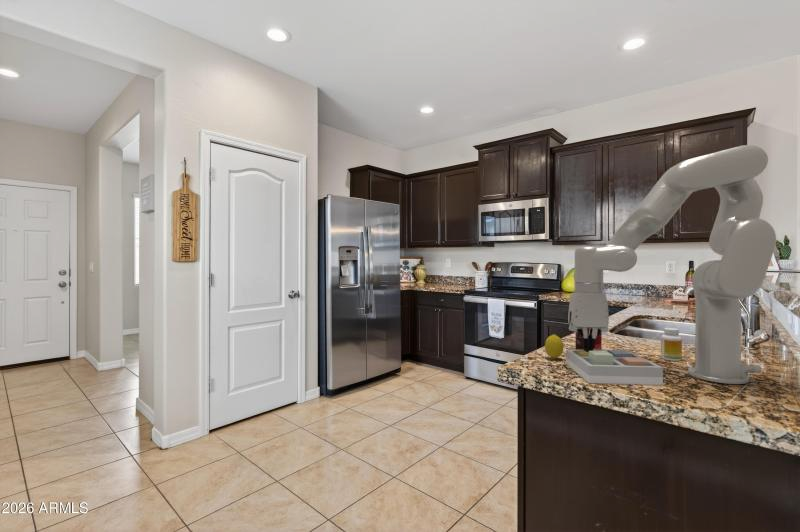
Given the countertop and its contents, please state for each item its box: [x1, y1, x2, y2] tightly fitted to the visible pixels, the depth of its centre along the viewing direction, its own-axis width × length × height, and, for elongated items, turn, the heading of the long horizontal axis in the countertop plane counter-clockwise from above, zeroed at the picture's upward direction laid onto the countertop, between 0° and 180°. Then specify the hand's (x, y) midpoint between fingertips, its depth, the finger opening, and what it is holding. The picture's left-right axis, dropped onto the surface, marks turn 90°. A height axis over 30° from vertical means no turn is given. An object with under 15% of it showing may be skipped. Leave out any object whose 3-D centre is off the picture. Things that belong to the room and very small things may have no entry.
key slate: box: [607, 349, 632, 357], centre depth 111 cm, size 5×5×3 cm
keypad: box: [566, 349, 664, 386], centre depth 107 cm, size 18×18×4 cm
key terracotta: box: [621, 357, 647, 366], centre depth 103 cm, size 5×5×3 cm
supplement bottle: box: [660, 327, 683, 362], centre depth 122 cm, size 5×5×10 cm
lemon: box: [544, 333, 564, 360], centre depth 123 cm, size 6×6×8 cm
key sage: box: [589, 351, 613, 365], centre depth 103 cm, size 5×5×3 cm
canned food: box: [575, 327, 603, 350], centre depth 126 cm, size 8×8×11 cm
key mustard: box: [578, 349, 596, 357], centre depth 112 cm, size 5×5×3 cm
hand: (588, 351), depth 112 cm, fingers closed
